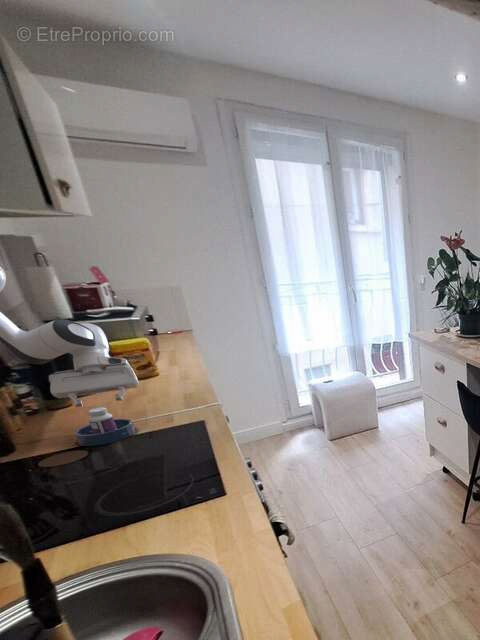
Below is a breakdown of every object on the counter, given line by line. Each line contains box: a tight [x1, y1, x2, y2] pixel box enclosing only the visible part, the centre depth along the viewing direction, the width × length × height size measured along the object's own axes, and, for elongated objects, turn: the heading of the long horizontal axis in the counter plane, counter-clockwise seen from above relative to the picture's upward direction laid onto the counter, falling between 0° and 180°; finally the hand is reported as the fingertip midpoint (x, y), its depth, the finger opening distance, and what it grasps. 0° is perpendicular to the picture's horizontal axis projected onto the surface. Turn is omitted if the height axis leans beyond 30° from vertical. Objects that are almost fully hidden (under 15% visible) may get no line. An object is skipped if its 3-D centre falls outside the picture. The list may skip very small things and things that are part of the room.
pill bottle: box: [88, 407, 117, 434], centre depth 131 cm, size 5×5×10 cm
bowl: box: [74, 418, 137, 447], centre depth 132 cm, size 13×13×4 cm
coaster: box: [37, 449, 89, 468], centre depth 119 cm, size 10×10×1 cm
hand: (99, 402), depth 133 cm, fingers open, 8 cm apart
